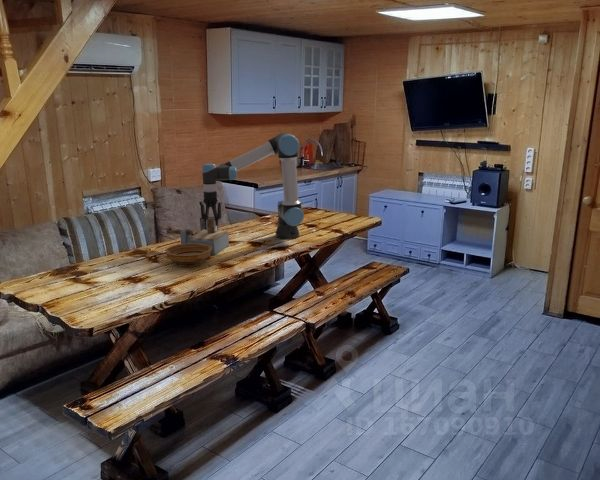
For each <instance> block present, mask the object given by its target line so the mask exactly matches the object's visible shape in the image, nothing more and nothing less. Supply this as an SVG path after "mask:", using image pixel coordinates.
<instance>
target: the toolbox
mask: <svg viewBox="0 0 600 480" xmlns="http://www.w3.org/2000/svg"><path fill="white" fill-rule="evenodd" d="M184 230H191V228H187V227H186V228H184ZM179 236H180V238H179V239H180V244H187V243H199V244H206V245H211V246H212V247H213V248H212V250H211V253H210V255H209V256H216V255H217V254H219V253H220V252H222V251H223V250H225V249H227V248H229V245H230V243H229V241H230V240H229V232H227V234H225V235H223V236H222V237H220V238H218V239H217V240H215V241H203V240H189V237H191V236H192V234H191V235H186V231H180V234H179Z"/></svg>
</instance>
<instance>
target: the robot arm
mask: <svg viewBox="0 0 600 480" xmlns="http://www.w3.org/2000/svg"><path fill="white" fill-rule="evenodd" d="M299 150H300V142H299V139H298V138H297V137H296V136H295V135H293V134H291V133H287V132H281V133H279V134H277V135H276V136H274V137H272V138H270V139H268V140H266V143H264V144H262V145H260V146H257V147H255V148H253V149H251V150H249V151H247V152H245V153H243V154H240V155H238V156H237V157H235V158H232V159H231V160H229V161H228V160H227V161H226V162H225V163H224V162H223V163H220V164H219V165H217V166H216V164H215V163H204V164H203V165H202V167H201V168H202V169H201V171H202V188H203V189H202V190H203V193H202V194H203V200H201V201H199V203H198V204H199V206H200V215H201V217H202V218H203V219H205V225H207V219H208V217H209V216H210V214H209V213H210V208H211V210H212V212H213V217H214V218H215V220H214V231H217V225H218V226H219V220H221V219H222V204H223V202H222V201H219V200H218V196H217V195H218V194H217V193H218V192H217V190H218V189H217V181H234V180H237V179H238V171H241V170H242V169H244V168H247V167H249V166H251V165H253V164H254V163H257V162H259V161H261V160H262V161H263V159H265V158H267V157H270V156H276V155H277V156H278V159H279V160H280V162H281V175H282V176H281V177H282V187H283V200H278V202H277V226H276V230H275V238H278V239H284V240H286V239H287V240H289V238H292V239H297V238H299V237H300V230H299V227H298V226H299V225H300V224H301V223H302V222H303V221H304V218H305V214H304V212H303V207H302V201H301V200H300V199H299V189H298V188H299V187H298V174H297V173H298V172H297V159H298V158H299ZM216 205H217V206H216ZM201 217H200V218H201Z"/></svg>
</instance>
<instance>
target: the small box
mask: <svg viewBox="0 0 600 480" xmlns="http://www.w3.org/2000/svg"><path fill="white" fill-rule="evenodd" d="M209 218H214V216H208V219H209ZM199 224H200V225H199V227H200V231H202V230H207V225H205V219H203V218H202V217H200V218H199ZM217 231H219V224H218V225H217Z"/></svg>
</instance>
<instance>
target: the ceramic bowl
mask: <svg viewBox="0 0 600 480" xmlns="http://www.w3.org/2000/svg"><path fill="white" fill-rule="evenodd" d="M212 248H213V247H212V246H211V245H206V244H199V243H187V244H181V243H180V244H175V245H172V246H169V247H167V248H165V251H164V252H165V254H166V255H163V259H166V260H169V261H171V262H173V263H175V264H178V265H179V266H181V267H194V266H198V265H200V264H201V262H203V261H206V260H207V259H208V258H210V256H211V255H210V253H211V250H212Z"/></svg>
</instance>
